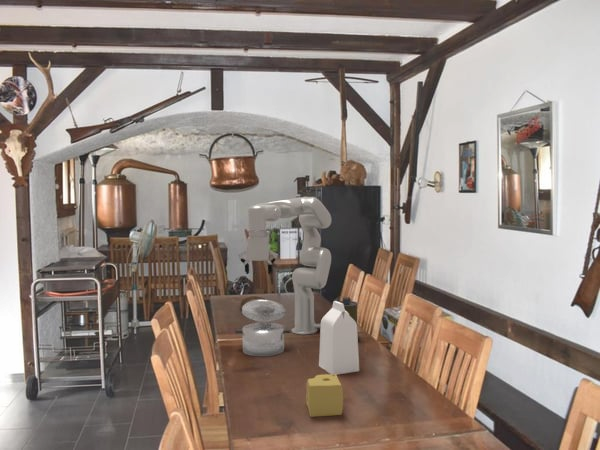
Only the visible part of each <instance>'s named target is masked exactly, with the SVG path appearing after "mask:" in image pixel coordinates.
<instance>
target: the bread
mask: <svg viewBox="0 0 600 450" xmlns="http://www.w3.org/2000/svg"><path fill="white" fill-rule="evenodd" d="M253 300H267V299H266V298H263V297H262V296H261V297H260V296H255V295H252V296H247V297H245V298H244V299H242V300H241V302H240V308H241V310H242V307H243V305H244V304H246V303H247V302H250V301H253Z"/></svg>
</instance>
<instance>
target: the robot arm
mask: <svg viewBox="0 0 600 450" xmlns="http://www.w3.org/2000/svg"><path fill="white" fill-rule="evenodd" d="M247 211H248V212H247V213H248V217H247V218H248V237H247V240H246V249H245V250H244V251H243V252H241V253H239V254H238V255H237V256H238V257H239V259H240V262H241V263H243V265H244V272H245V274H246V275H248V274H249V273H250V264H249V262H250V261H257V262H259V261H261V262H263V261H266V262H267V263H268V265H267V273H268V275H270V274H272V272H273V264H274V262H275V261H276V260H277V258H278V256H279V254H278V253H277V252H274V251H273V250H271V245H270V239H269V237H268V235H269V236H270V233H271V232H270V231H269V230H267V222H277V221H278V220H280V219H290V218H294V217H298V221H299V225H300V227H301V229H302V232H303V241H302V247H301V251H300V255H299V262H300V263H301V265H303V266H308V267H298V268H297V267H296V268H295V269H294V270H293V272H292V276H291V280H292V285H293V292H294V297H293V298H294V327H292V328H291V333H293V334H295V335H313V334H316V333H317V332H318V329H321V323H316V322H315V296H314V291H312V289H316V290H320V289H323V288H324V287H325V286H326V285H327V281H328V277H329V274H330V268H331V264H332V254H331V251H330V250H329V249H328V248H326V247H320V246H321V242H322V238H321V235H320V233H319V231H318V229H327V228H329V227H330V226H331V224H332V216H331V213H330V212H329V210H328V209H327V207H326V206H325V205H324V204H323V203H322V201H321V200H320V199H319V198H317V197H315V196H311V197H309V196H307V197H304V196H298V197H294V198H288V199H283V200H275V201H269V202H263V203H257V204H254V205H251V206H249V207H248V209H247ZM244 256H245V258H246V259H245V258H244ZM271 256H273V258H272V259H271ZM311 267H316V268H311Z"/></svg>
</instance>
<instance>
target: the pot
mask: <svg viewBox="0 0 600 450" xmlns="http://www.w3.org/2000/svg"><path fill="white" fill-rule="evenodd" d="M291 333H292V328H285V327H284V325H283V324H280V323H275V322H254V323H250V324H246V325H244V326H243V327H242V328H239V329H238V328H237V329H235V334H242V353H243V354H244V355H247V356H250V357H251V356H252V357H274V356H276V355H279V354H282V353H283V352H284V351H285V334H291Z"/></svg>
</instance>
